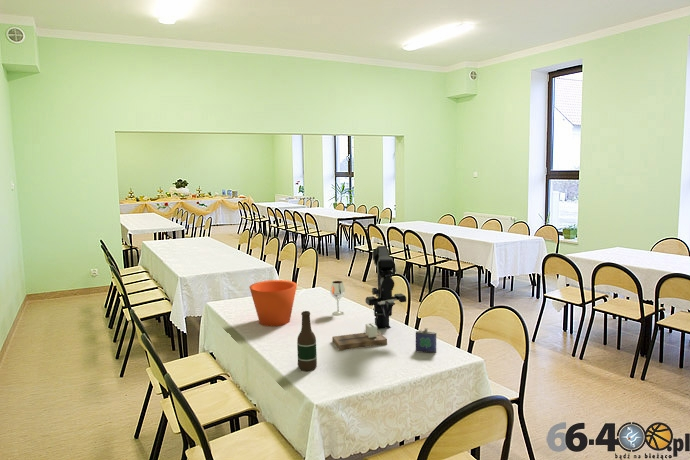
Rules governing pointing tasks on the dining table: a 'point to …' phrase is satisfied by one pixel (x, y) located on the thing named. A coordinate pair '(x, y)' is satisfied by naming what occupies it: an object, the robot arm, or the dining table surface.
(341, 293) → the wineglass
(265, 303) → the flowerpot
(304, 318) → the beer bottle
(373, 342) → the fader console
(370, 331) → the fader knob
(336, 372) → the dining table surface
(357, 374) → the dining table surface
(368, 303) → the robot arm
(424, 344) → the flask
